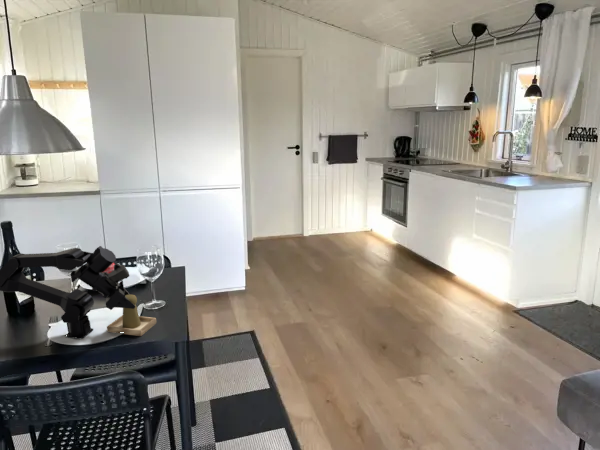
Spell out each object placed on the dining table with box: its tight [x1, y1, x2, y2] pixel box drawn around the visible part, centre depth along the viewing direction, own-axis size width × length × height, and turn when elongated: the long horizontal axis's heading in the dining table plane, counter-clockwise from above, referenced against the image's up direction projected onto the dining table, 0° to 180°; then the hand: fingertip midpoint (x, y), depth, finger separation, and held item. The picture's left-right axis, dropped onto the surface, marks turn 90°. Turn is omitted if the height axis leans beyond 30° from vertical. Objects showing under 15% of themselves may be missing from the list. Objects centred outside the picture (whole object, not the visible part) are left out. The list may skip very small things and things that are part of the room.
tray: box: [106, 314, 157, 337], centre depth 157 cm, size 13×10×2 cm
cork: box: [122, 293, 141, 329], centre depth 156 cm, size 6×6×11 cm
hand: (134, 304), depth 155 cm, fingers open, 6 cm apart
